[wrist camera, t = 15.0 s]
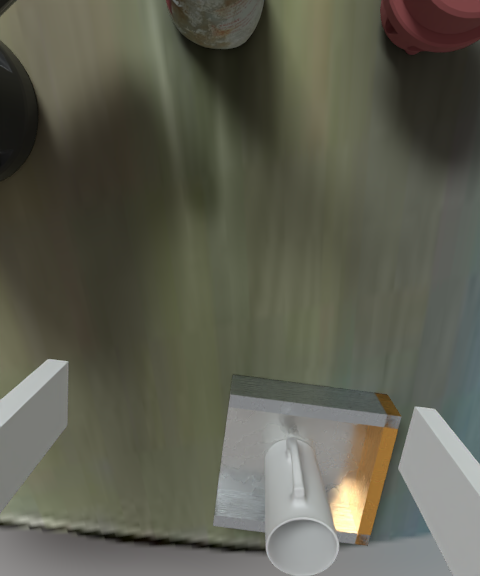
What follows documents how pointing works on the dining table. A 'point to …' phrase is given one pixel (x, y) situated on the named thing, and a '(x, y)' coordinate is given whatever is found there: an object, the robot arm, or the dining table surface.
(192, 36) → the bottle
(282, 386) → the channel
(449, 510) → the robot arm
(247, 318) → the dining table surface
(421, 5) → the mechanical component
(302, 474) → the mug
